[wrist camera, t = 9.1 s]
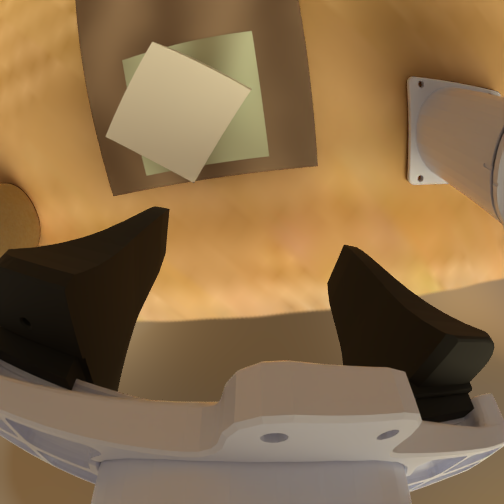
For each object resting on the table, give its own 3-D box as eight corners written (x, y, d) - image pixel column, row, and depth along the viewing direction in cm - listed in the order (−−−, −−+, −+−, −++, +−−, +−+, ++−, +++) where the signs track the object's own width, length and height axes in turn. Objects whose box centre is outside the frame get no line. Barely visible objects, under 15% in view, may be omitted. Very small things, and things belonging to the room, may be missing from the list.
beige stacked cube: (251, 89, 16) (250, 90, 11) (208, 157, 18) (193, 183, 14) (178, 51, 14) (152, 41, 10) (140, 121, 16) (105, 136, 12)
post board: (270, -106, 8) (273, -140, 4) (314, 161, 19) (330, 184, 15) (82, -59, 9) (50, -76, 5) (119, 190, 20) (90, 218, 16)
